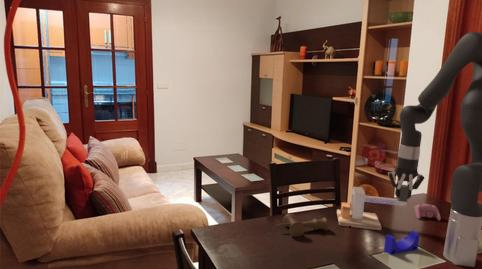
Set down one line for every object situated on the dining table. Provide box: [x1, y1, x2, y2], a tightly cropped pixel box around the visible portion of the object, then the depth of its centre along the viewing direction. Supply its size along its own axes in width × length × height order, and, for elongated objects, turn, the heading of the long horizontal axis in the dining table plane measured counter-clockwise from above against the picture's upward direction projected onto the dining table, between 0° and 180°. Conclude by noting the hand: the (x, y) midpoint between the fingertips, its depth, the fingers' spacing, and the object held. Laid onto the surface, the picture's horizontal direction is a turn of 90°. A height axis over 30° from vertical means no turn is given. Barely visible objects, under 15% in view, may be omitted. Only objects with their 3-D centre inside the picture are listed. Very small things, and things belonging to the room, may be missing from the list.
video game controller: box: [414, 203, 442, 222], centre depth 151 cm, size 10×5×7 cm, turn 85°
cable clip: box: [383, 230, 421, 255], centre depth 123 cm, size 12×4×6 cm, turn 110°
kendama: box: [277, 213, 329, 238], centre depth 134 cm, size 6×10×20 cm
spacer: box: [340, 201, 351, 219], centre depth 145 cm, size 5×3×5 cm, turn 170°
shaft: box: [364, 184, 409, 207], centre depth 141 cm, size 3×18×8 cm, turn 80°
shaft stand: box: [336, 186, 383, 231], centre depth 144 cm, size 13×16×14 cm
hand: (402, 197), depth 140 cm, fingers closed on shaft, 3 cm apart
